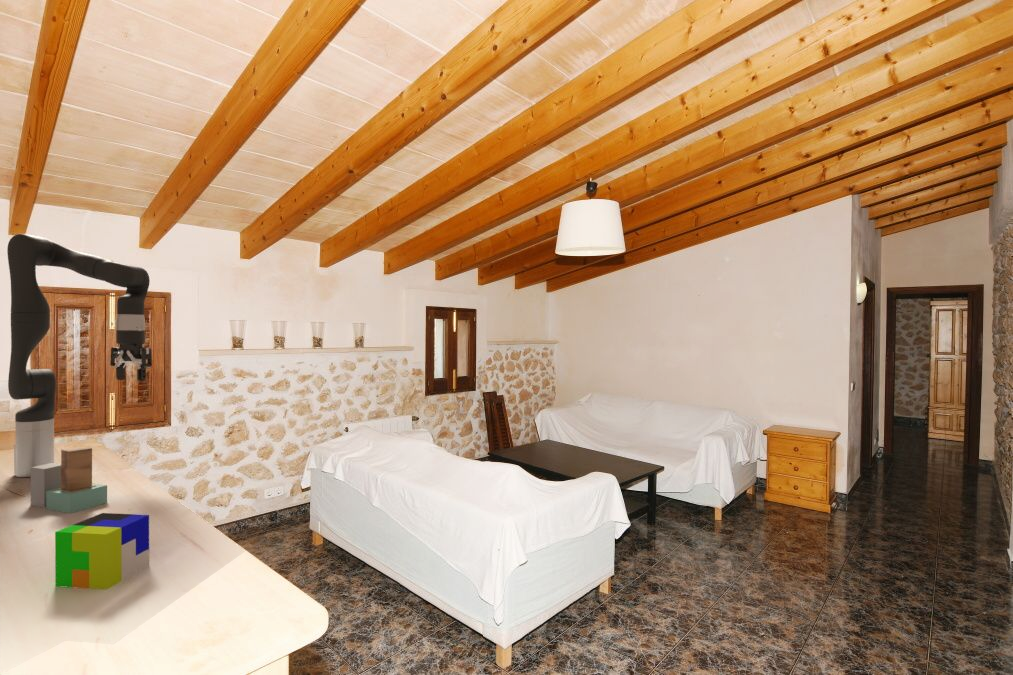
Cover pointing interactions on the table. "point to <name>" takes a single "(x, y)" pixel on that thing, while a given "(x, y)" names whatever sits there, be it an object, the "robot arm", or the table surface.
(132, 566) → the puzzle toy
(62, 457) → the walnut block
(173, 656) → the table surface
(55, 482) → the slate-grey block
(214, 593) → the table surface
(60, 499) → the teal base block
